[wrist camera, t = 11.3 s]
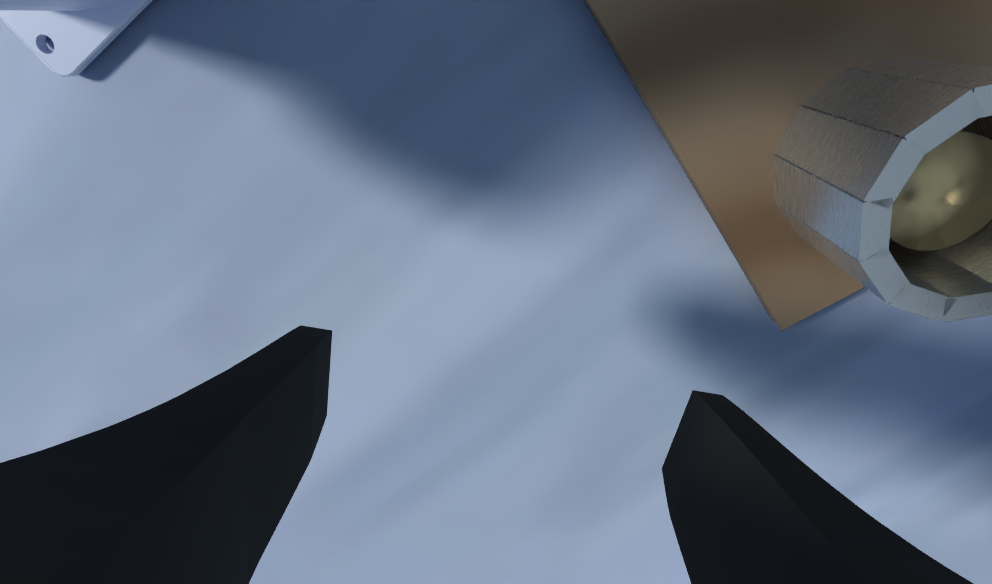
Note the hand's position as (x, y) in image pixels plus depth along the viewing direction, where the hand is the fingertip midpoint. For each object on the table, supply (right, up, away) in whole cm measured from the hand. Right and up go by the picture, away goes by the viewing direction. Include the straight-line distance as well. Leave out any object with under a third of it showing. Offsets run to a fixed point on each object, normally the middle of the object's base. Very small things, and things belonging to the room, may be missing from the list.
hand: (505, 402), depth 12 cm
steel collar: (+11, +6, +6) cm, 14 cm away
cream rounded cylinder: (+11, +7, +7) cm, 15 cm away
